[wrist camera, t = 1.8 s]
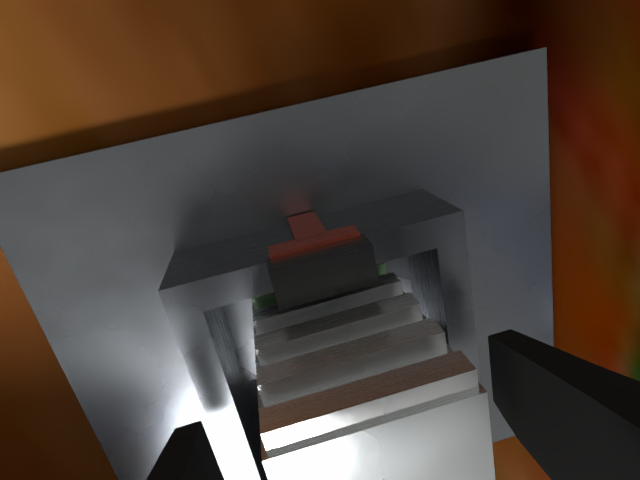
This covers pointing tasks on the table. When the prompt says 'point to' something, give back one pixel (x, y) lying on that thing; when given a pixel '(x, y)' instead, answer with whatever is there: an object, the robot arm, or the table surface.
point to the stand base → (282, 243)
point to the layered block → (366, 391)
